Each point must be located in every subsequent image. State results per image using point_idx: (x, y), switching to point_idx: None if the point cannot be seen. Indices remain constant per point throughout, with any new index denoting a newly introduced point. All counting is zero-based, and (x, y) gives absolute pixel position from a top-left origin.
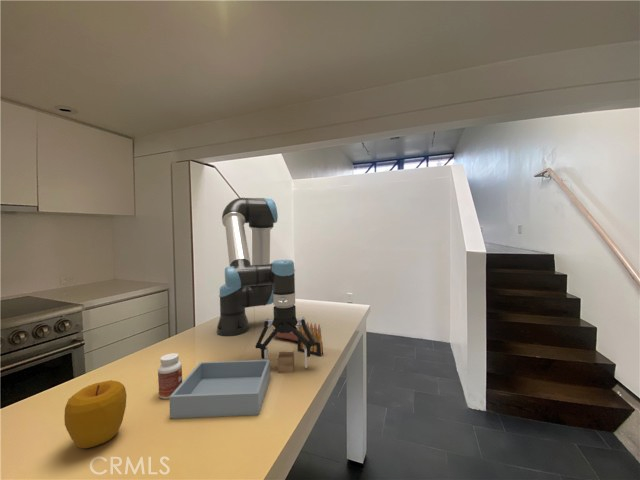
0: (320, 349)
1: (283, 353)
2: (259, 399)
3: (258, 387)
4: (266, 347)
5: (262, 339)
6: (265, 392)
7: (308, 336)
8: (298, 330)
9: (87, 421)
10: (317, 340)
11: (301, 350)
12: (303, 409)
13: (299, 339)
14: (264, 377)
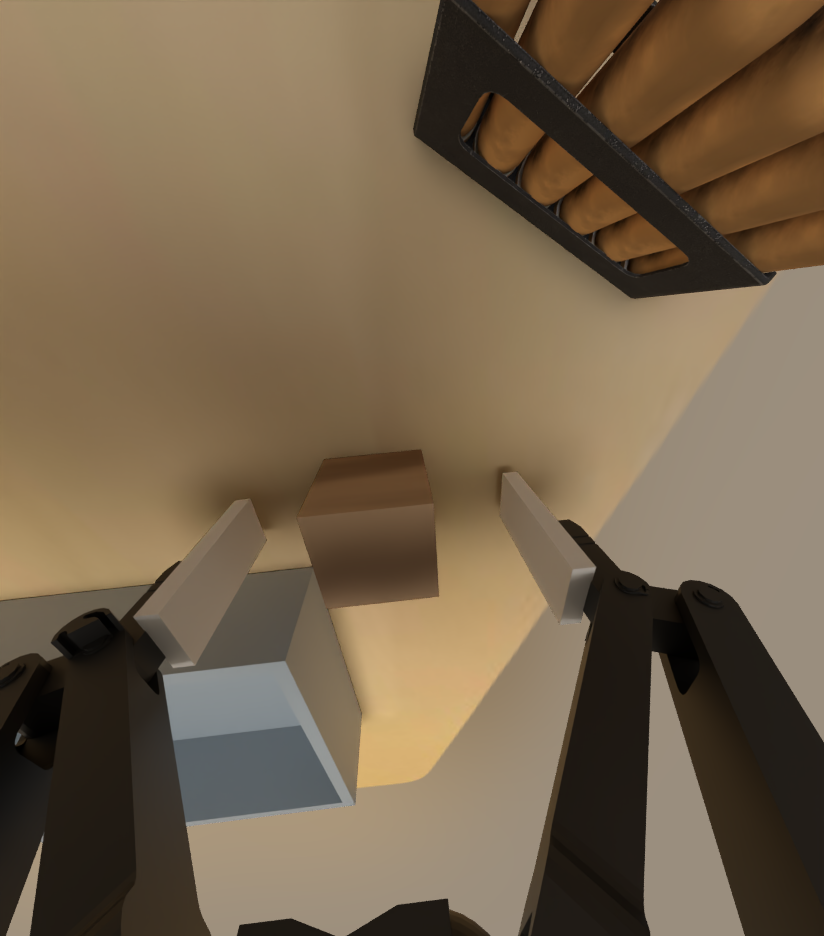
0: (691, 290)
1: (345, 542)
2: (355, 753)
3: (342, 791)
4: (149, 620)
5: (3, 758)
6: (341, 653)
7: (717, 779)
8: (641, 880)
9: None
10: (782, 243)
11: (465, 163)
12: (485, 690)
13: (563, 745)
14: (332, 741)
